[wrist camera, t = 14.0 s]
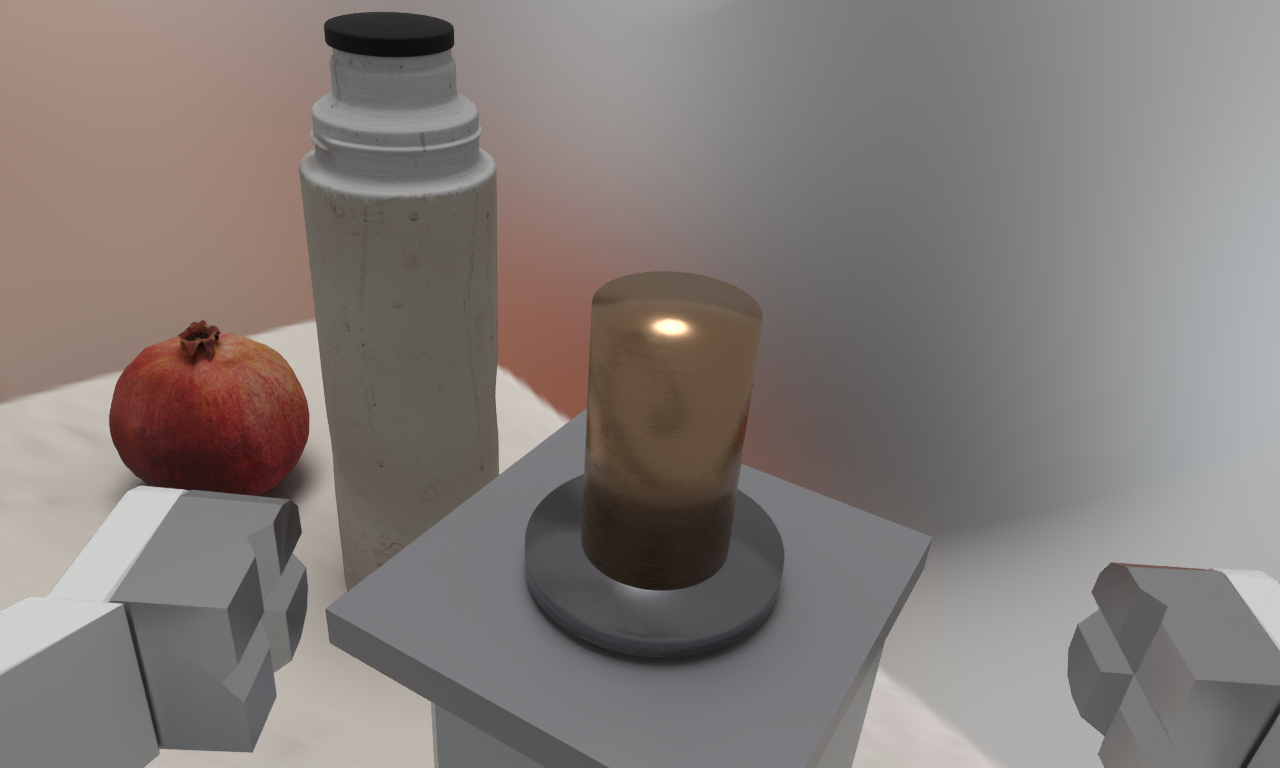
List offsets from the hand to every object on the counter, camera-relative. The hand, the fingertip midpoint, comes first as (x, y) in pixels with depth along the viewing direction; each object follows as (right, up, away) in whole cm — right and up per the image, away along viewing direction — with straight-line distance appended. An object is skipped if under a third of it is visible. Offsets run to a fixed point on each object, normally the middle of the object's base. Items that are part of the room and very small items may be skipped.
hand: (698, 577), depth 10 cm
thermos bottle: (-12, -8, +43) cm, 45 cm away
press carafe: (-1, -18, +27) cm, 33 cm away
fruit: (-25, -4, +48) cm, 54 cm away
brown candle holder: (-1, -12, +23) cm, 26 cm away
